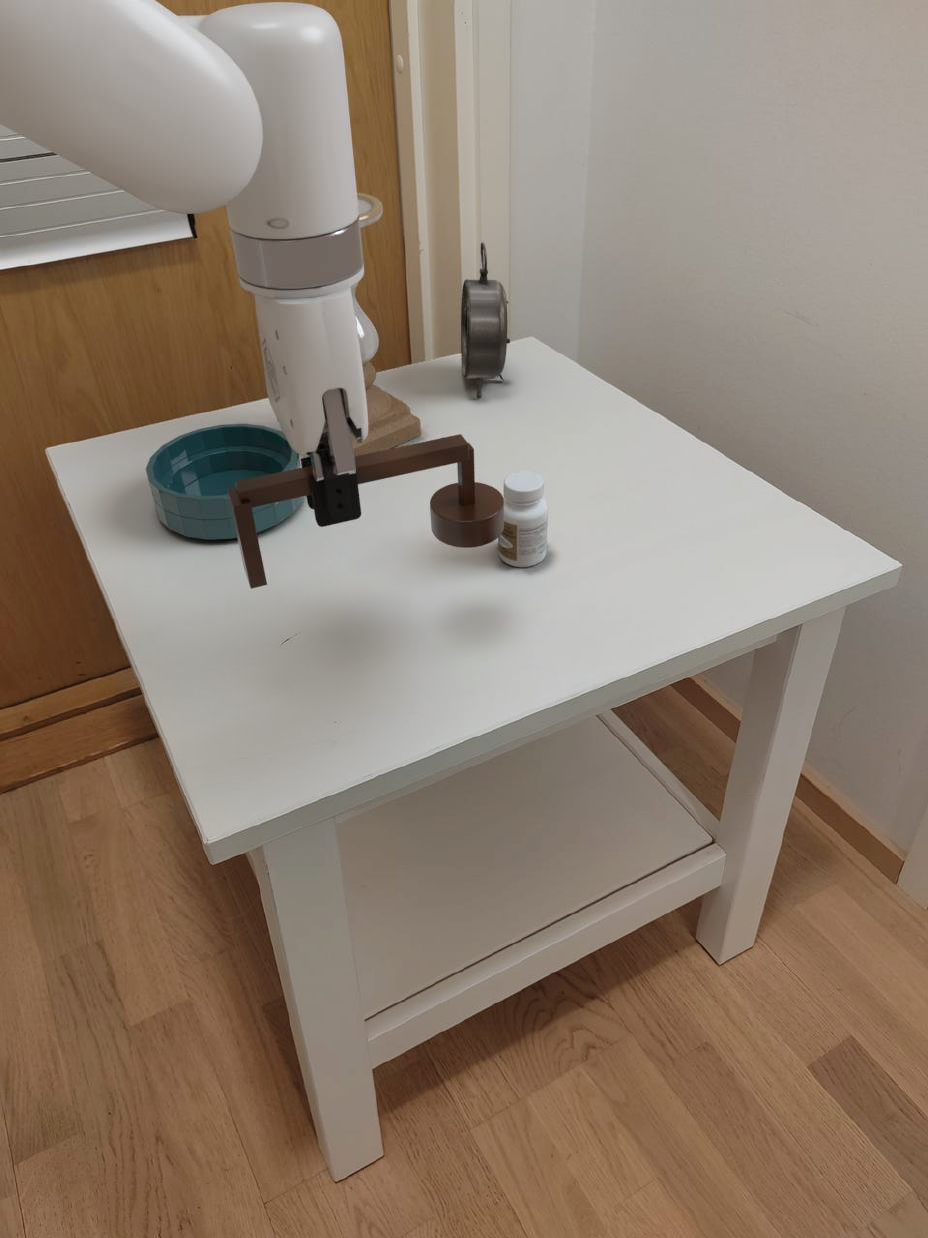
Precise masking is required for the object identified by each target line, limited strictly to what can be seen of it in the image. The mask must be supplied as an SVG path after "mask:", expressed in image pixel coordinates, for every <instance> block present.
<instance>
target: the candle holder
mask: <svg viewBox="0 0 928 1238" xmlns="http://www.w3.org/2000/svg"><path fill="white" fill-rule="evenodd" d="M357 199H358V210H359V220H360V229H363V228H365V227H368V226H371V225H373V224H374V223H376V222H378V221H379V220H380V219H381V217H382V215H383V213H384V212H383V211H384V207H383V203H382V201H380V200H379V198H378V197H375V196H373V195H370V194H367V193H363V192H357ZM358 285H359V282H357V283H356V284H355V285H353V286H351V293H352V299H353V305H354V312H355V318H356V320H357V331H358V338H359V345H360V352H361V359H362V367H363V374H364V383H365V392H366V401H367V412H368V435H367V437H366V439H365V440H364V441H363V442H362V443H359V442H358V441H357V440H356V438H355V436H354V435H353V433H352V440H353V449H354V456H359V455H364V454H369V453H373V452H378V451H383V450H388V449H392V448H396V447H398V446H399V445H402V444H404V443H406V442H408V441H411V440H413V439H415V438H417V437H419V436H420V435H421V434H422V429H421V428H422V427H421V419H420V418H419V417H418V416H416V415H415V414H413V413H411V407H409V406H408V404H407V403H405V402H404V401H402V400H400V399H399V398H397V397H396V396H393V395H392V394H390V393H388V392H387V391H385V390H383V389H382V388H381V387H379V386H377V385H376V384H375V381H376V379H377V371H376V368H375V366H374V365H373V364H372V362H371V361H370V360H372V359H373V358H374V356H375V355H376V353H377V352H378V350H379V345H380V338H379V334H378V331H377V329H376V327H375V325H374V324H373V322H372V320H371V319H370V318H369V317H368V315H367V314H366V313H365V311H364V310H363V309H362V307H361V306H360V304H359V303H358V301H357V298H356V290H357V287H358Z"/></svg>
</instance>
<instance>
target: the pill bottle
mask: <svg viewBox="0 0 928 1238" xmlns="http://www.w3.org/2000/svg"><path fill="white" fill-rule="evenodd" d="M544 486H545V482H544V479H543V477H542V476H541V475H540V474H538V473H536V472H533V471H529V470H518V471H513V472H511V473H509V474H507V475H506V476H505V477H504V479H503V498H504V529H503V532H502V534H501V535H500V536H499V537H498V538H497V553H498V556H499V559H501V560H502V561H503V562H504V563H505V564H507V565H510V566H512V567H517V568H529V567H533V566H535V565H538V564H540V563H541V562H542V561H544V559H545V558H546V556H547V552H548V525H549V505H548V502H547V500H546V499H545V498H544V493H545V490H544V489H545V487H544Z"/></svg>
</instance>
